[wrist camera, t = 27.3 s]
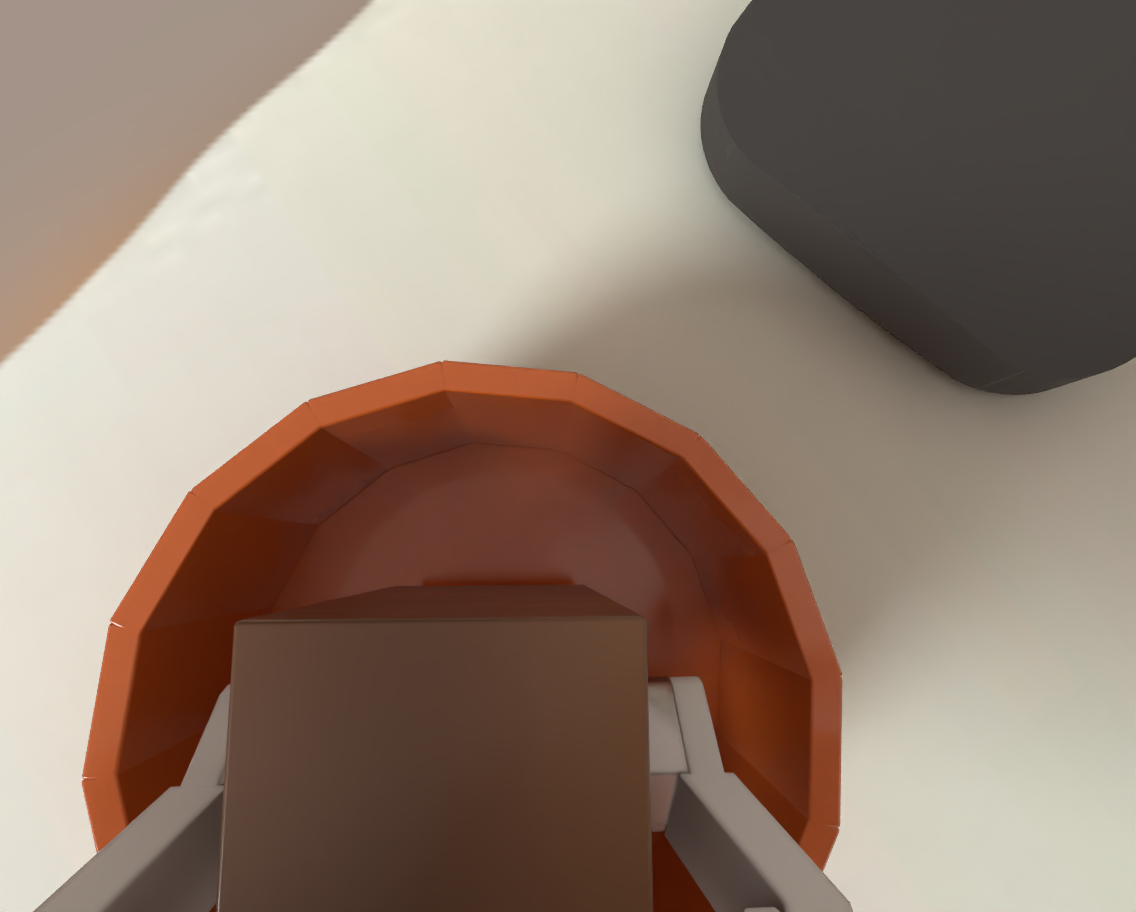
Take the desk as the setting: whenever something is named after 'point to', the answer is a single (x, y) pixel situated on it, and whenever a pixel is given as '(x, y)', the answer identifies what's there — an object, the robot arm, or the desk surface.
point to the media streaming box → (946, 171)
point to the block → (439, 755)
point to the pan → (483, 572)
